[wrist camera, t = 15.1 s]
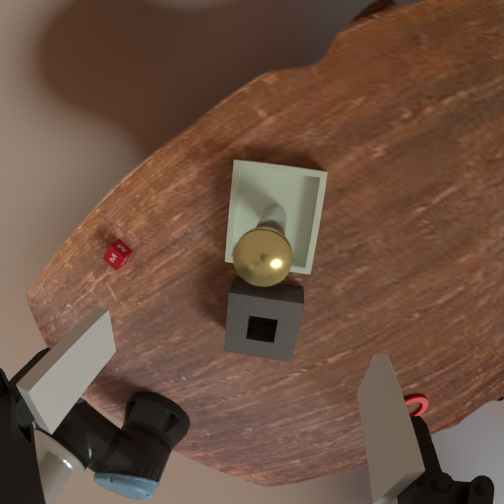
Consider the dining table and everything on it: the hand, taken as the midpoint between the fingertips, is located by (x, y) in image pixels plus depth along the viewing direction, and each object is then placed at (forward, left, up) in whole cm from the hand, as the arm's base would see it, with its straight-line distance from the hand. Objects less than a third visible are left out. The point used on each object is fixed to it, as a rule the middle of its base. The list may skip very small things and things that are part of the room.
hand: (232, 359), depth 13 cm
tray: (0, +1, -29) cm, 29 cm away
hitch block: (+1, -14, -29) cm, 32 cm away
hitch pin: (0, +1, -28) cm, 28 cm away
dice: (-23, -8, -29) cm, 38 cm away
